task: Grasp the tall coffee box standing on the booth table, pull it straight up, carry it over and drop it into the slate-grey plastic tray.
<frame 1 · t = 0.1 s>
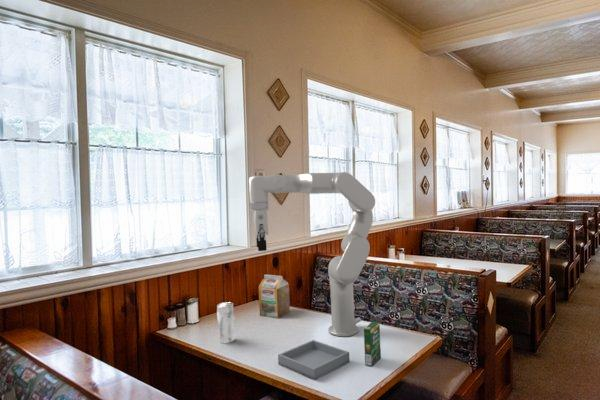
hand: (261, 248, 167), 37 cm above the table, tool pointing down, fingers open, 9 cm apart
milk carton: (275, 314, 201), on the table
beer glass: (227, 341, 169), on the table
grey tray: (313, 363, 144), on the table
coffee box: (373, 362, 143), on the table
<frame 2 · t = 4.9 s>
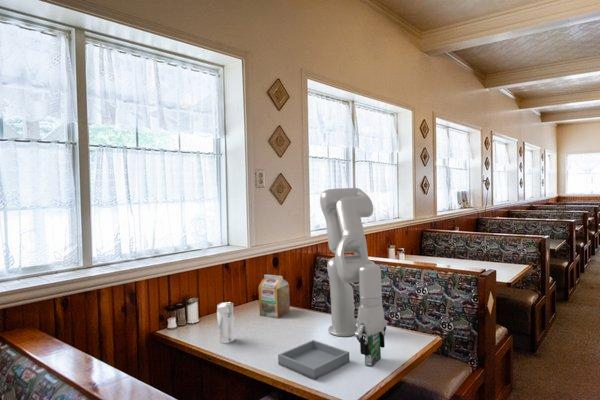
hand: (372, 350, 143), 4 cm above the table, tool pointing down, fingers closed on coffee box, 8 cm apart
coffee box: (373, 362, 143), on the table, touching gripper
everything else where it was.
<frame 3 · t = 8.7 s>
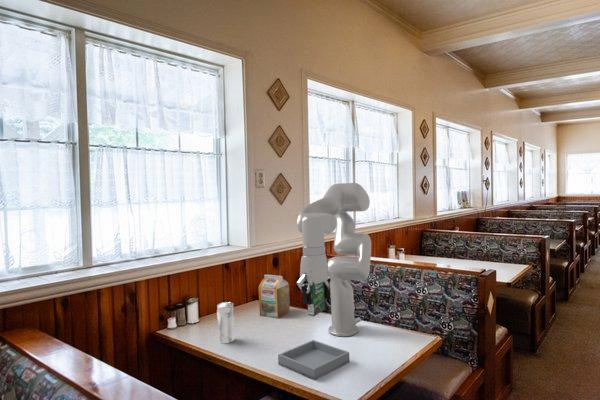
hand: (316, 300, 143), 22 cm above the table, tool pointing down, fingers closed on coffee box, 8 cm apart
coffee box: (316, 313, 143), point 18 cm above the table, touching gripper
everything else where it was.
when the fingers open (7 cm above the table, at t = 12.4 s): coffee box drops 2 cm, resting on grey tray.
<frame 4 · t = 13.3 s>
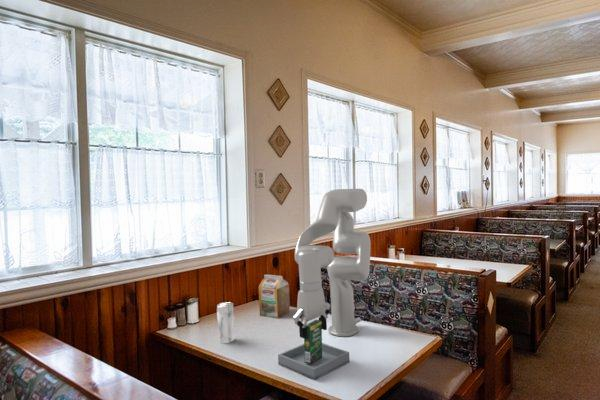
hand: (313, 333, 145), 10 cm above the table, tool pointing down, fingers open, 9 cm apart
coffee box: (313, 360, 144), point 1 cm above the table, touching grey tray
everything else where it was.
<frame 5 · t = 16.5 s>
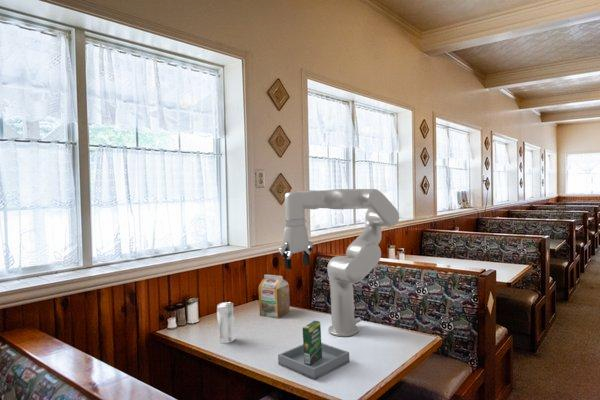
hand: (297, 266, 162), 30 cm above the table, tool pointing down, fingers open, 9 cm apart
nothing on the table moved.
at the end: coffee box 0.2 cm from the grey tray (horizontally); the gripper is holding nothing; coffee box moved 20.7 cm from its start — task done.
